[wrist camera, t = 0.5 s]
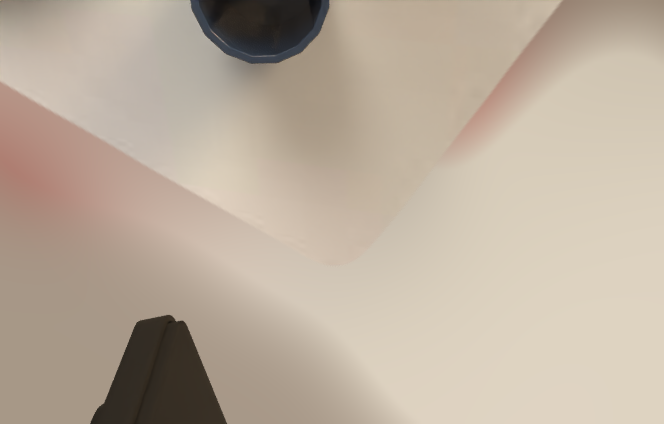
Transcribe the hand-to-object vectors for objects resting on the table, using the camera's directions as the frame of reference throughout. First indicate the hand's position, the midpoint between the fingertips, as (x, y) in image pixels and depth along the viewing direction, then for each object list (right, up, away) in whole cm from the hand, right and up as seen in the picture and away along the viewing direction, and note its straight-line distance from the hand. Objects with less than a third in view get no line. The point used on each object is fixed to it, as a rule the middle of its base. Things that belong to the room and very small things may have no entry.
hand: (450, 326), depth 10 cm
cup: (-6, +17, +26) cm, 32 cm away
